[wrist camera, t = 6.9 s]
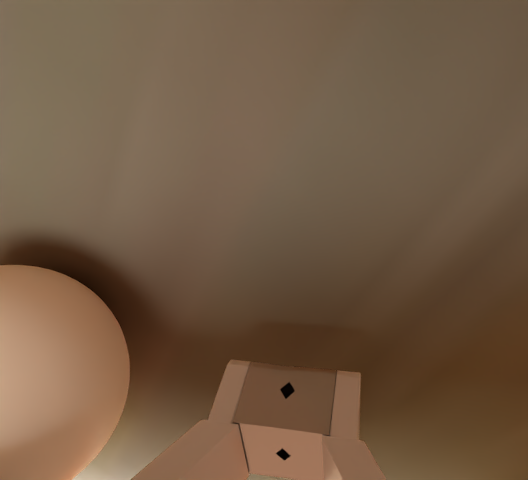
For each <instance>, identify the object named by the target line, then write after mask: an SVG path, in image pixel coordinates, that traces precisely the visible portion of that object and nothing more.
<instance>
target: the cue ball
mask: <svg viewBox="0 0 528 480" xmlns="http://www.w3.org/2000/svg"><path fill="white" fill-rule="evenodd" d="M129 382H130V360H129V354H128V349H127V344H126V341H125V338H124V335H123V332H122V329H121V327H120V325H119V323H118V321H117V320H116V318H115V316H114V315H113V313H112V312H111V310H110V309H109V308H108V307H107V305H106V304H105V303H104V302H103V301H102V299H100V298H99V297H98V296H97V295H96V294H95V293H94V292H93V291H92V290H90V289H89V288H87V287H86V286H84V285H83V284H81V283H80V282H78V281H77V280H75V279H73V278H71V277H69V276H67V275H65V274H62V273H59V272H56V271H53V270H50V269H45V268H41V267H36V266H26V265H0V480H72V479H73V478H74V477H75V476H76V475H78V474H79V473H80V472H81V471H82V470H84V469H85V468H86V467H87V466H88V465H89V464H90V463H91V462H92V460H93V459H94V458H95V457H96V456H97V455H98V454H99V453H100V451H101V450H102V449H103V447H104V446H105V445H106V443H107V442H108V440H109V439H110V437H111V435H112V433H113V432H114V430H115V428H116V426H117V424H118V422H119V419H120V417H121V415H122V412H123V409H124V406H125V402H126V399H127V395H128V388H129Z"/></svg>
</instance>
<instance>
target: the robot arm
mask: <svg viewBox="0 0 528 480" xmlns="http://www.w3.org/2000/svg"><path fill="white" fill-rule="evenodd" d="M360 390H361V373H359V372H349V371H339V370H338V371H337V370H333V369H322V368H310V367H298V366H294V367H290V366H282V365H274V364H267V363H259V362H250V361H241V360H232V359H231V360H230V361H229V363H228V364H227V366H226V369H225V372H224V374H223V377H222V380H221V383H220V386H219V389H218V391H217V394H216V397H215V400H214V403H213V406H212V409H211V411H210V414H209V417H208V420H203V419H201V420H200V421H199V422H198V423H197V424H195V425H194V426H193V427H192V428H191V429H189V430H188V431H187V432H186V433H185V434H184V435H182V436H181V437H180V438H179V439H178V440H177V441H175V442H174V443H173V444H172V445H171V446H170V447H168V448H167V449H166V450H165V451H164V452H163V453H161V454H160V455H159V456H158V457H157V458H156V459H154V460H153V461H152V462H151V463H150V464H148V465H147V466H146V467H145V468H144V469H143V470H141V471H140V472H139V473H138V474H137V475H136V476H134V477H133V478H132V479H131V480H246V479H247V478H248V477H249V473H252V474H259V475H267V476H275V477H283V478H289V479H295V480H386V478H385V476H384V474H383V473H382V471H381V469H380V468H379V466H378V464H377V462H376V461H375V459H374V457H373V455H372V454H371V452H370V450H369V449H368V447H367V445H366V443H365V442H364V441H361V440H359V430H360Z"/></svg>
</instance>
